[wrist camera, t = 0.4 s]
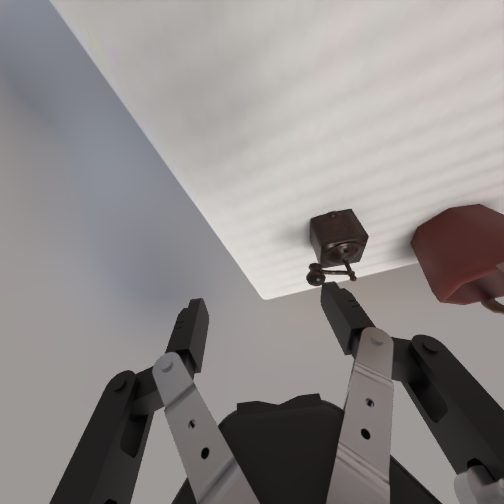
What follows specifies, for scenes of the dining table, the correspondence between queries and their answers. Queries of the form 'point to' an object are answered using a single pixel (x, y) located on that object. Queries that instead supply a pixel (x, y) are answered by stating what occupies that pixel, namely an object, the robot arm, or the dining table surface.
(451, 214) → the bucket
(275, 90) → the dining table surface
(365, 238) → the manual coffee grinder
